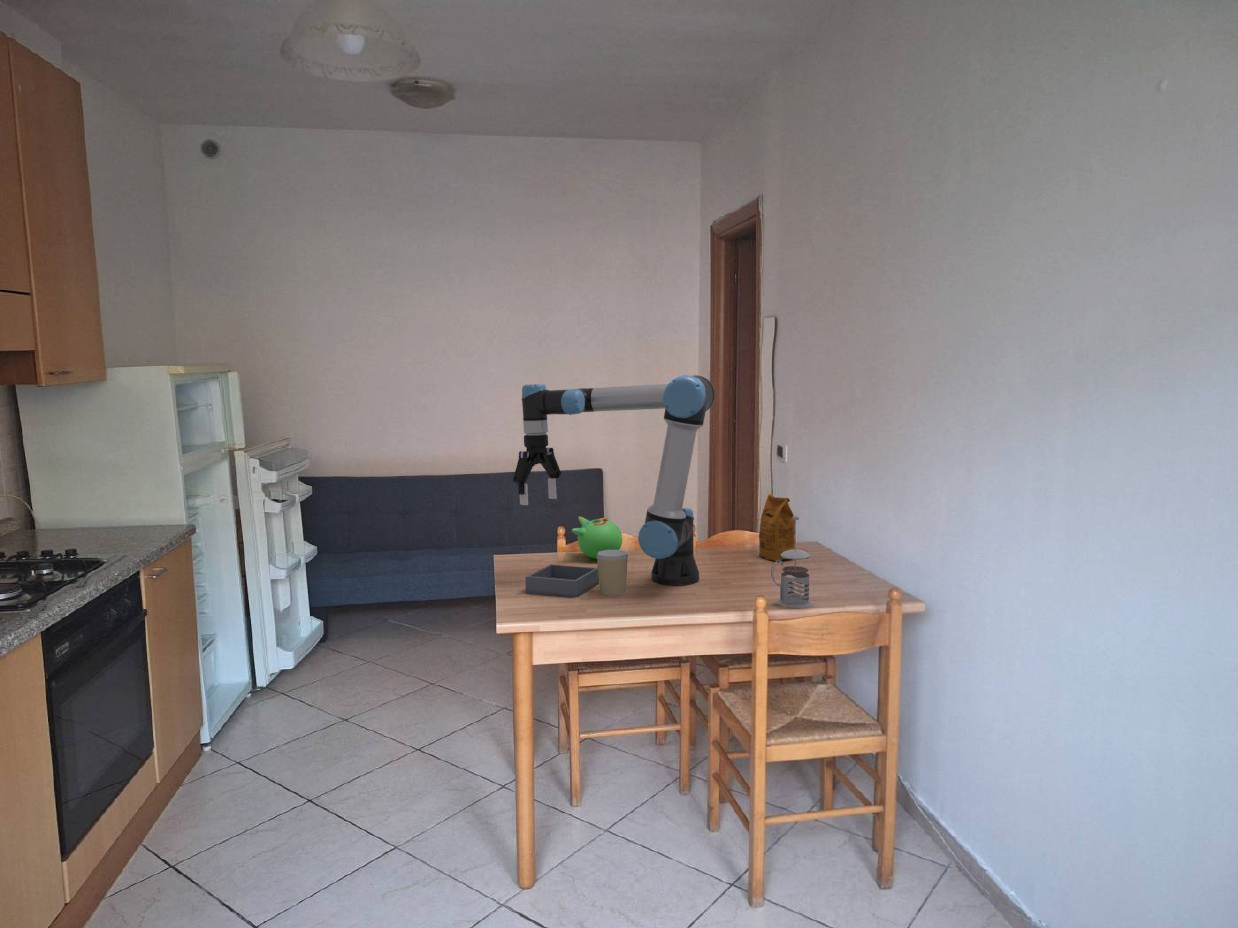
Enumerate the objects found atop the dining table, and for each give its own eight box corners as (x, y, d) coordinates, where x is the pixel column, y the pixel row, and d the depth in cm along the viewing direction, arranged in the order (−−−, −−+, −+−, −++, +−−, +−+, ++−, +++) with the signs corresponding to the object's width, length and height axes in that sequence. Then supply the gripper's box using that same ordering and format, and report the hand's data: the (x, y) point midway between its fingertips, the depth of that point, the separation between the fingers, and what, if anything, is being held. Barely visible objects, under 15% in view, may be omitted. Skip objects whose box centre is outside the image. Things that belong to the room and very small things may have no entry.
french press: (817, 607, 222) (818, 517, 220) (776, 608, 222) (776, 519, 219) (806, 597, 232) (807, 511, 229) (766, 598, 231) (767, 512, 229)
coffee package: (778, 552, 290) (778, 492, 287) (798, 560, 278) (799, 497, 276) (754, 555, 286) (754, 494, 284) (773, 562, 275) (774, 499, 272)
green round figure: (620, 563, 276) (620, 521, 275) (572, 563, 278) (571, 521, 276) (623, 552, 294) (623, 512, 293) (578, 552, 295) (577, 512, 294)
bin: (598, 583, 250) (598, 568, 250) (576, 597, 235) (575, 581, 235) (551, 579, 257) (550, 564, 256) (525, 592, 241) (525, 576, 241)
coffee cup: (622, 586, 247) (622, 548, 245) (632, 594, 238) (632, 554, 237) (593, 589, 244) (592, 550, 243) (602, 597, 235) (601, 557, 234)
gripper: (552, 431, 263) (554, 495, 265) (498, 437, 243) (502, 506, 245) (570, 431, 259) (572, 496, 261) (517, 437, 238) (520, 508, 241)
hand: (538, 501), depth 253 cm, fingers open, 13 cm apart
